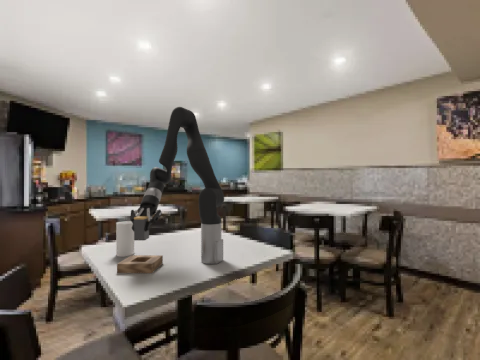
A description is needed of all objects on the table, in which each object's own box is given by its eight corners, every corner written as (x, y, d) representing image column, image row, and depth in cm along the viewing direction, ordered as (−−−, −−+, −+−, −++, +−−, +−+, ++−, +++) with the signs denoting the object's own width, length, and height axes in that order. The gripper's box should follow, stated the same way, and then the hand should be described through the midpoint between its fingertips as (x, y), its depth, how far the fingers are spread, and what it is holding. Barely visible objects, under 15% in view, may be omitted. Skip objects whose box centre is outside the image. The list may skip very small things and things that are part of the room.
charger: (149, 238, 107) (148, 216, 107) (144, 240, 102) (144, 217, 102) (139, 238, 107) (138, 216, 107) (134, 240, 102) (134, 217, 103)
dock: (162, 263, 109) (162, 255, 109) (151, 273, 97) (151, 264, 97) (131, 263, 110) (131, 255, 110) (117, 272, 98) (117, 263, 98)
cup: (129, 251, 130) (129, 220, 130) (137, 253, 125) (137, 222, 125) (113, 254, 124) (113, 222, 124) (121, 257, 119) (121, 224, 119)
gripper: (133, 194, 113) (119, 225, 100) (164, 193, 112) (153, 225, 100) (139, 204, 118) (126, 235, 106) (168, 204, 117) (158, 235, 105)
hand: (139, 230), depth 103 cm, fingers closed on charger, 4 cm apart
